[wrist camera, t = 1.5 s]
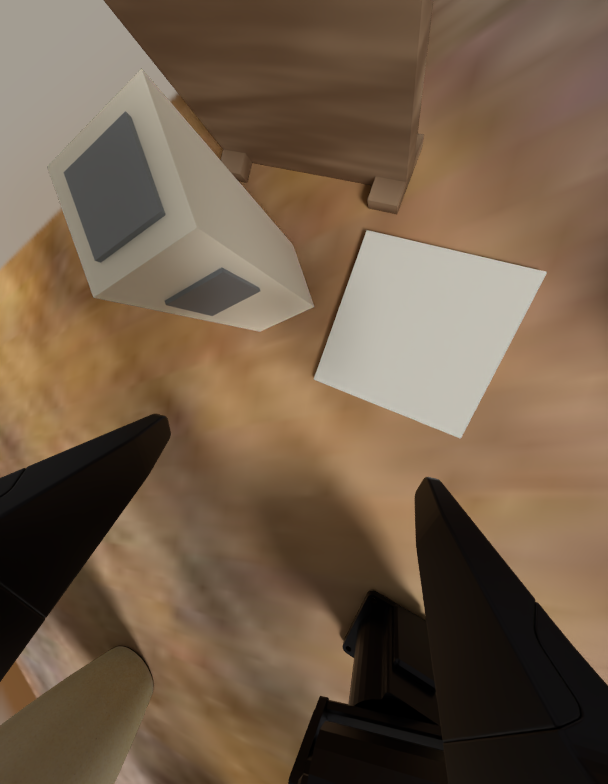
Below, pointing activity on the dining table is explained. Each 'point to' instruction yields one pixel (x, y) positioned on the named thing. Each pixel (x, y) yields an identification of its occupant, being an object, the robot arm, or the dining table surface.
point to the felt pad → (424, 328)
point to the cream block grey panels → (171, 219)
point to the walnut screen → (298, 81)
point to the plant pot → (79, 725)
